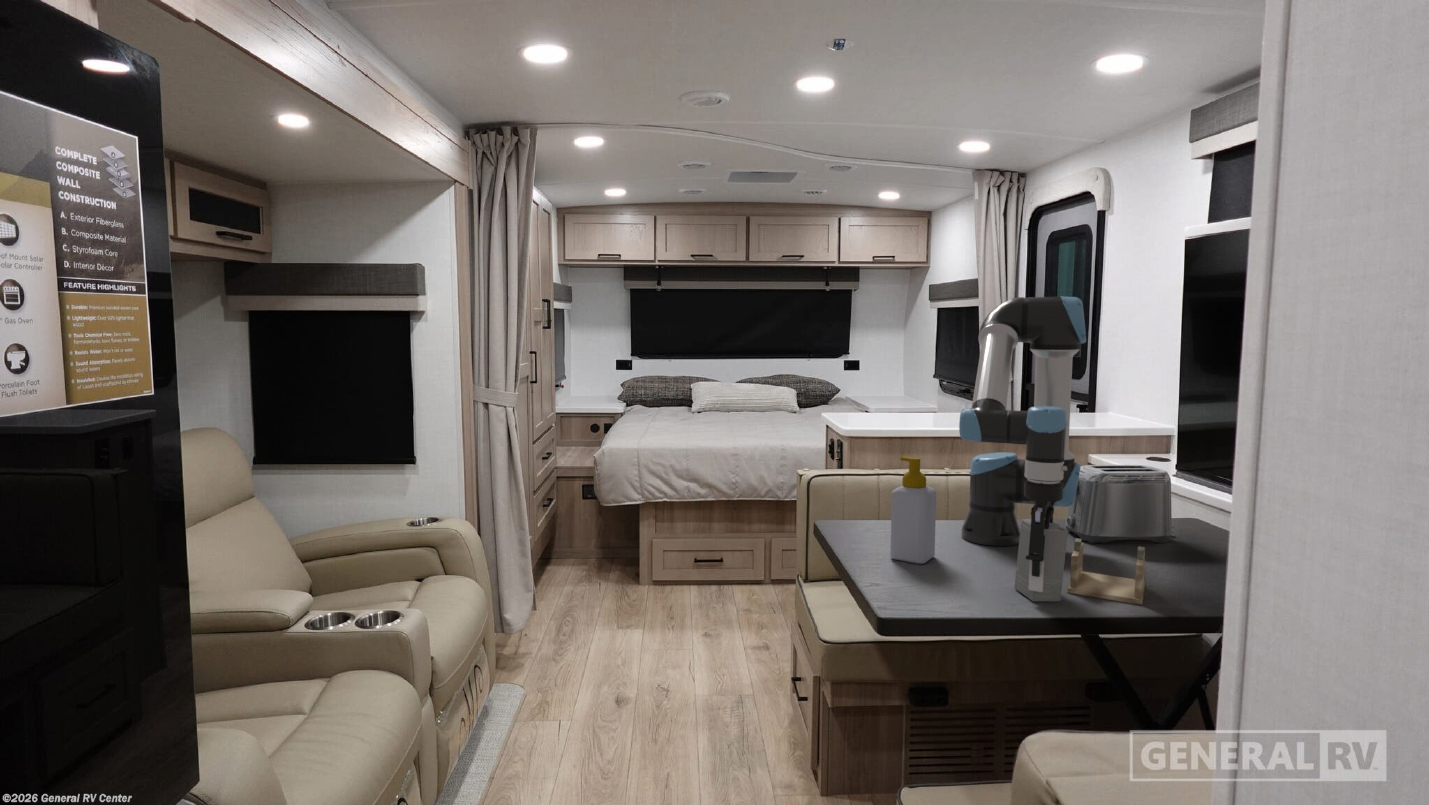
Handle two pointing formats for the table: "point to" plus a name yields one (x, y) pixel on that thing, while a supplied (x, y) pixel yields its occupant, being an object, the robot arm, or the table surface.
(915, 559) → the soap bottle
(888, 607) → the table surface
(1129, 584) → the holder
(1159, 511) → the toaster
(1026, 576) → the skincare box
